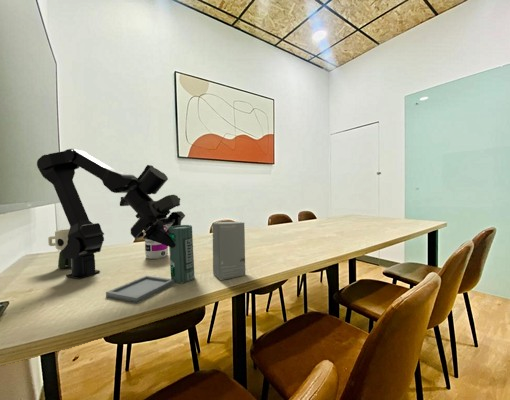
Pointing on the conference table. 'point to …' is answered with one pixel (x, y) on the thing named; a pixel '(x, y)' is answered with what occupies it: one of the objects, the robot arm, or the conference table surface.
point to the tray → (140, 289)
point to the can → (181, 253)
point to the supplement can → (155, 249)
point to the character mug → (61, 246)
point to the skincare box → (228, 249)
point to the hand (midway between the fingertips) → (180, 243)
